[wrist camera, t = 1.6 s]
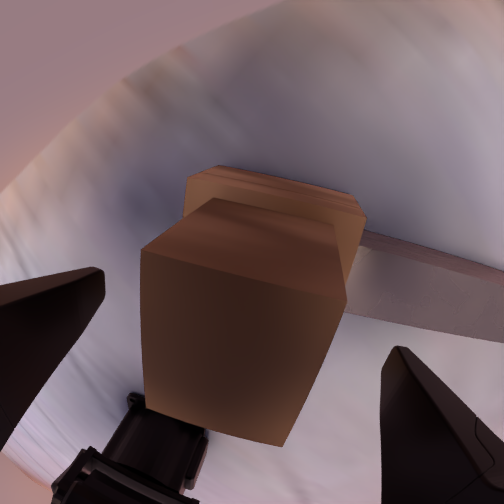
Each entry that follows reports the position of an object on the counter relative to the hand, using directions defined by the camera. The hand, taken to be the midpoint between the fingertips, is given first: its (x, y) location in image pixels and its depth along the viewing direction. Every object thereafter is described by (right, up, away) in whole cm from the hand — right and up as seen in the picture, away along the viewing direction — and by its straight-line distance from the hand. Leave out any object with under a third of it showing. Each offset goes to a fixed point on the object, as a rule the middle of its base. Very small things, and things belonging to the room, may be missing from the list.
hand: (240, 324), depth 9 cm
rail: (+9, +1, +5) cm, 11 cm away
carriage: (+1, +3, +6) cm, 7 cm away
